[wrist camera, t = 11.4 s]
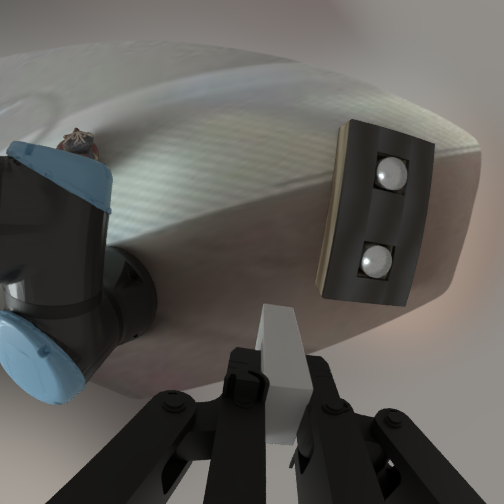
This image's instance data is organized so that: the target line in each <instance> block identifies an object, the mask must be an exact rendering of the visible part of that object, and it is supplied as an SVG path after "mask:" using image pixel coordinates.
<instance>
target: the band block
mask: <svg viewBox="0 0 504 504" xmlns="http://www.w3.org/2000/svg"><path fill="white" fill-rule="evenodd" d="M434 149H435V144H434V143H431V142H428V141H425V140H422V139H419V138H416V137H413V136H410V135H407V134H404V133H401V132H398V131H394V130H391V129H388V128H384V127H381V126H377V125H373V124H370V123H366V122H362V121H358V120H354V119H351V120H350V121H348V122H347V123H346V124H344V125H343V126H341V127H340V128H339V134H338V142H337V151H336V159H335V166H334V174H333V181H332V188H331V194H330V201H329V207H328V214H327V220H326V226H325V232H324V237H323V243H322V249H321V254H320V259H319V265H318V270H317V275H316V280H315V284H316V286H317V288H318V290H319V292H320V294H321V296H322V297H323V298H324V299H333V300H342V301H352V302H361V303H371V304H381V305H392V306H403V307H405V306H406V303H407V299H408V296H409V292H410V289H411V285H412V281H413V277H414V273H415V269H416V265H417V261H418V256H419V252H420V247H421V242H422V237H423V232H424V227H425V221H426V215H427V209H428V202H429V196H430V188H431V180H432V171H433V161H434ZM389 157H395V158H398V159H399V160H401V161H402V162H403V163H404V165H405V167H406V169H407V181H406V183H405V185H404V186H403V187H402V188H400V189H398V190H387V191H383V190H378V189H374V188H373V184H374V177H375V169H376V161H377V160H379V159H384V158H389ZM364 241H369V242H375V243H378V244H379V245H381V246H383V247H385V248H386V249H387V250H388V251H389V252H390V254H391V257H392V264H391V267H390V269H389V271H388V272H387V273H386V274H385V275H384V276H382V277H379V278H373V277H370V276H369V275H367V274H366V273H365V272H364V271H363V270H361V269H360V268H359V263H360V259H361V254H362V249H363V244H364Z"/></svg>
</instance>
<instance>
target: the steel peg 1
mask: <svg viewBox="0 0 504 504" xmlns="http://www.w3.org/2000/svg"><path fill="white" fill-rule="evenodd" d="M406 181H407V169H406V167H405V165H404V163H403V162H402V161H401V160H399V159H398V158H395V157H389V158H384V159H379V160H377V161H376V169H375V177H374V184H373V188H374V189H382V190H398V189H400V188H402V187H403V186H404V185H405V183H406Z"/></svg>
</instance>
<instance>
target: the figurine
mask: <svg viewBox="0 0 504 504" xmlns="http://www.w3.org/2000/svg"><path fill="white" fill-rule="evenodd" d="M63 138H64V139H65V140H63V141H62V142H61V143H60V144H59V145H58V146H57V148H56V149H59V150H63V151H66V152H70V153H74V154H77V155H81V156H84V157H88V158H91V159H94V160H97V161H98V149H97V146H96V145H95V144H94V142H93V138H94V136H93V135H92V134H91V133H90V132H87V133H86V132H83V131H79V129H78V128H75V129H74V131H73V133H71V134H69V135H64V136H63Z"/></svg>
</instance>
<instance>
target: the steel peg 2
mask: <svg viewBox="0 0 504 504" xmlns="http://www.w3.org/2000/svg"><path fill="white" fill-rule="evenodd" d="M391 264H392V257H391V254H390V252H389V251H388V250H387V249H386V248H385V247H383V246H381V245H379V244H377V243H375V242H369V241H364V244H363V249H362V254H361V259H360V263H359V268H360V269H361V270H363V271H364V272H365V273H366V274H367V275H369V276H370V277H373V278H379V277H382V276H384V275H385V274H386V273H387V272H388V271H389V269H390V267H391Z"/></svg>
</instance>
